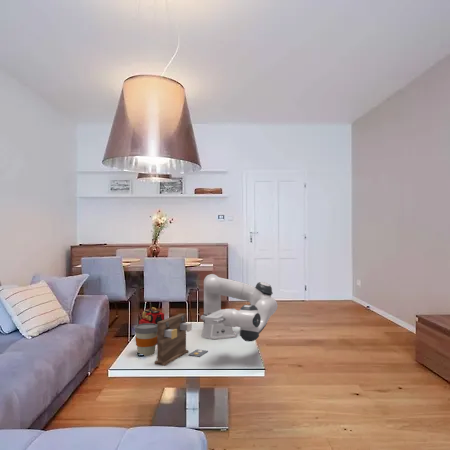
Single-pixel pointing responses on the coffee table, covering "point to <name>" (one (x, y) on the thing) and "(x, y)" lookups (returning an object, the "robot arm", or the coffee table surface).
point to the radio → (151, 316)
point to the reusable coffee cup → (146, 338)
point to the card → (198, 353)
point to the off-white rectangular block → (186, 326)
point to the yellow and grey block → (170, 333)
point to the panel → (170, 340)
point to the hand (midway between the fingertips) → (204, 315)
